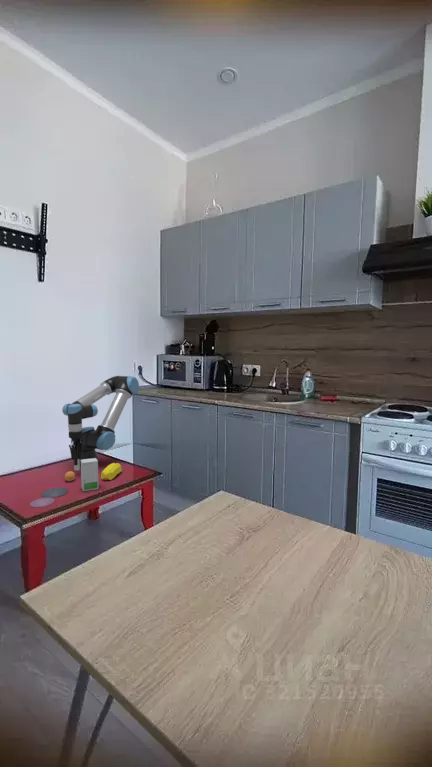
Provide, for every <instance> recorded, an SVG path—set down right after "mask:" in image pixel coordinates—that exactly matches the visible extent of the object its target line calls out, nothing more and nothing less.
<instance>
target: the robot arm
mask: <svg viewBox="0 0 432 767" xmlns="http://www.w3.org/2000/svg"><path fill="white" fill-rule="evenodd" d="M138 380H139V379H138V378H137V377H135V376H130V375H128V376H127V375H126V376H125V375H114V376H111V377H110V378H108V379H105V380H104V381H103V382H101V383H100V384H99V385H98V386H97V387H96V388H94V389H93V390H91V391H90V392H88V393H86V394H85V395H83V396H82V397H80V398H78V399H76V400H75V401H73V402H72V403H66V404H64V405H63V407H62V413H63V415H64V416H67V424H68V425H67V427H68V438H69V439H71V440H70V444H69V445H68V448H69V450H70V452H69V453H70V456H71V460H73V470H74V471H81V460H83V459H92V458H96V459H97V460H98V462H99V456H98V454H97V451H96V450H100V451H107V450H111V448H113V446H114V445H115V443H116V434H115V433H116V431H115V428H116V426H117V424H118V422H119V419H120V417H121V414H122V413H123V410H124V408H125V406H126V404H127V402H128V400H129V399H131V398H132V397H133V395H135V394H137V393H138V392H139V388H140V385H139V384H140V383H139V381H138ZM113 393H115V395H114V397H113V399H112V401H111V403H110V406H109V408H108V409H107V412H106V414H105V416H104V418H103V420H102V422H101V423H100V424H98V425H97V427H96V428H95V427H94V426H85V427H83V420H85V419H91V418H94V417H96V416H98V412H99V411H98V407H97V406H96V405H95V404H94V403H97V402H98V401H99V400H101V399H102V398H104V397H105V396H109V395H111V394H113Z"/></svg>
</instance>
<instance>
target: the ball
mask: <svg viewBox="0 0 432 767" xmlns="http://www.w3.org/2000/svg"><path fill="white" fill-rule="evenodd" d="M75 478H76V473H75V472H74V471H71V470H70V471H67V472H65V474H64V479H65V480H66V481H67V482H72V481H74V480H75Z"/></svg>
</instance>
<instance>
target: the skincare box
mask: <svg viewBox="0 0 432 767" xmlns="http://www.w3.org/2000/svg"><path fill="white" fill-rule="evenodd" d="M98 460H99V459H98ZM98 460H97V459H96V458H92V459H83V460H81V466H80V483H81V489H82V492H87V491H88V492H89V491H95V490H99V461H98Z"/></svg>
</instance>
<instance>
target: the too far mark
mask: <svg viewBox="0 0 432 767" xmlns="http://www.w3.org/2000/svg"><path fill="white" fill-rule="evenodd" d="M54 503H55V498H44V497H41V498H37V499H36V498H35V499H34V500H33V501H31V502H29V506H30V507H31V508H44V507H48V506H50V505H52V504H54Z"/></svg>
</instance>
